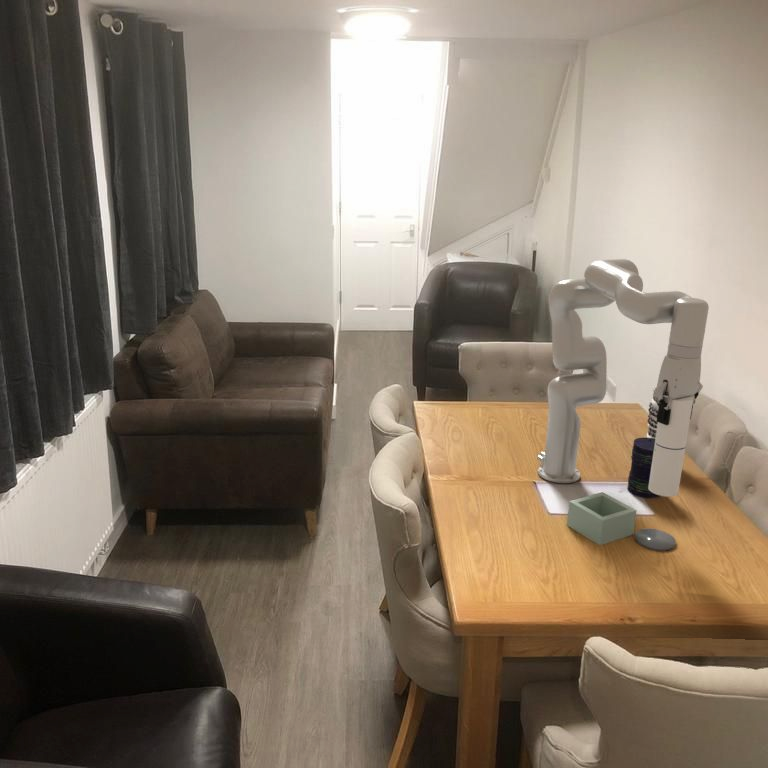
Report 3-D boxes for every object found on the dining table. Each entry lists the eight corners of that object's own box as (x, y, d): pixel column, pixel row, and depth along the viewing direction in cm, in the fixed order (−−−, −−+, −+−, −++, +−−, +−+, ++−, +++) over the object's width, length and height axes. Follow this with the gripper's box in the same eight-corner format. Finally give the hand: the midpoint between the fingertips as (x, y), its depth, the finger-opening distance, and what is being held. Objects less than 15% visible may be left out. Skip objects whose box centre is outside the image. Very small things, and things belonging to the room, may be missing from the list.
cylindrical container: (659, 497, 192) (673, 402, 184) (642, 485, 199) (656, 392, 191) (684, 495, 194) (699, 400, 186) (667, 482, 201) (681, 390, 193)
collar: (566, 525, 208) (569, 501, 206) (599, 515, 214) (602, 492, 212) (599, 545, 198) (602, 520, 196) (633, 534, 204) (636, 510, 202)
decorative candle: (667, 455, 255) (678, 382, 247) (674, 467, 246) (686, 392, 238) (638, 453, 255) (649, 381, 248) (644, 465, 247) (655, 390, 239)
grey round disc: (626, 536, 203) (626, 534, 202) (653, 528, 208) (653, 525, 207) (656, 554, 195) (657, 551, 194) (683, 545, 199) (684, 542, 199)
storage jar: (664, 500, 224) (671, 452, 219) (628, 496, 225) (635, 448, 221) (659, 485, 233) (666, 439, 228) (625, 482, 235) (631, 435, 230)
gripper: (695, 342, 192) (685, 410, 198) (646, 350, 184) (636, 421, 190) (722, 350, 186) (710, 420, 192) (672, 359, 178) (661, 431, 183)
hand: (673, 420), depth 191 cm, fingers closed on cylindrical container, 7 cm apart
